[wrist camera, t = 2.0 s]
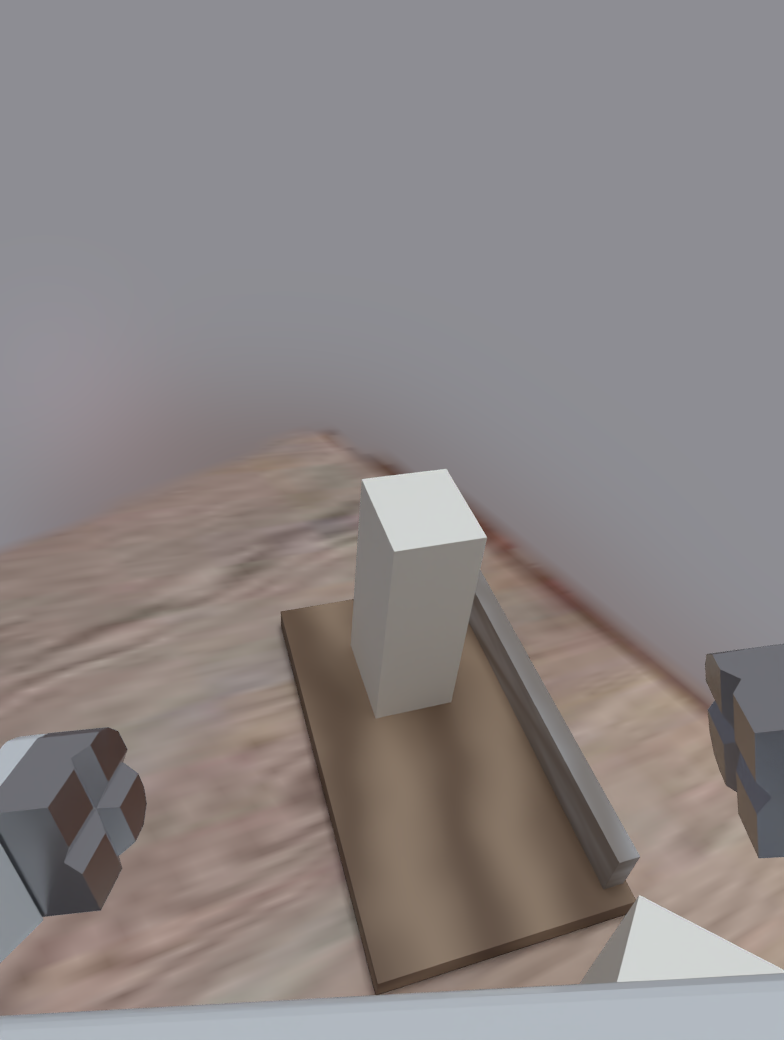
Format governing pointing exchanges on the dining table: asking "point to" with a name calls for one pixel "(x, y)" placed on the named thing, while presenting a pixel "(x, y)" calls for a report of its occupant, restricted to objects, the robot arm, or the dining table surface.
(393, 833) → the shelf board
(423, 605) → the carton
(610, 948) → the cream carton
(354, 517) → the dining table surface
